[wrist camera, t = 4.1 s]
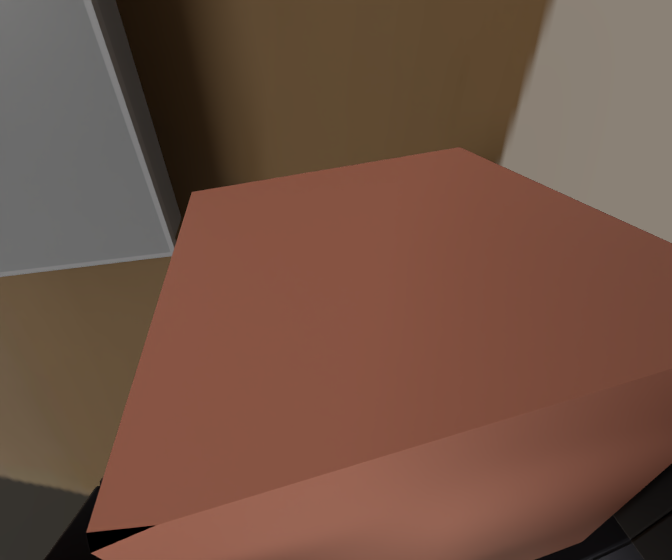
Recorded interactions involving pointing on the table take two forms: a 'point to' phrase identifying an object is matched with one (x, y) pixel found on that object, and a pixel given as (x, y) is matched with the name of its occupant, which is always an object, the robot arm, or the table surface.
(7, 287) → the table surface
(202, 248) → the red cube
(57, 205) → the grey box
